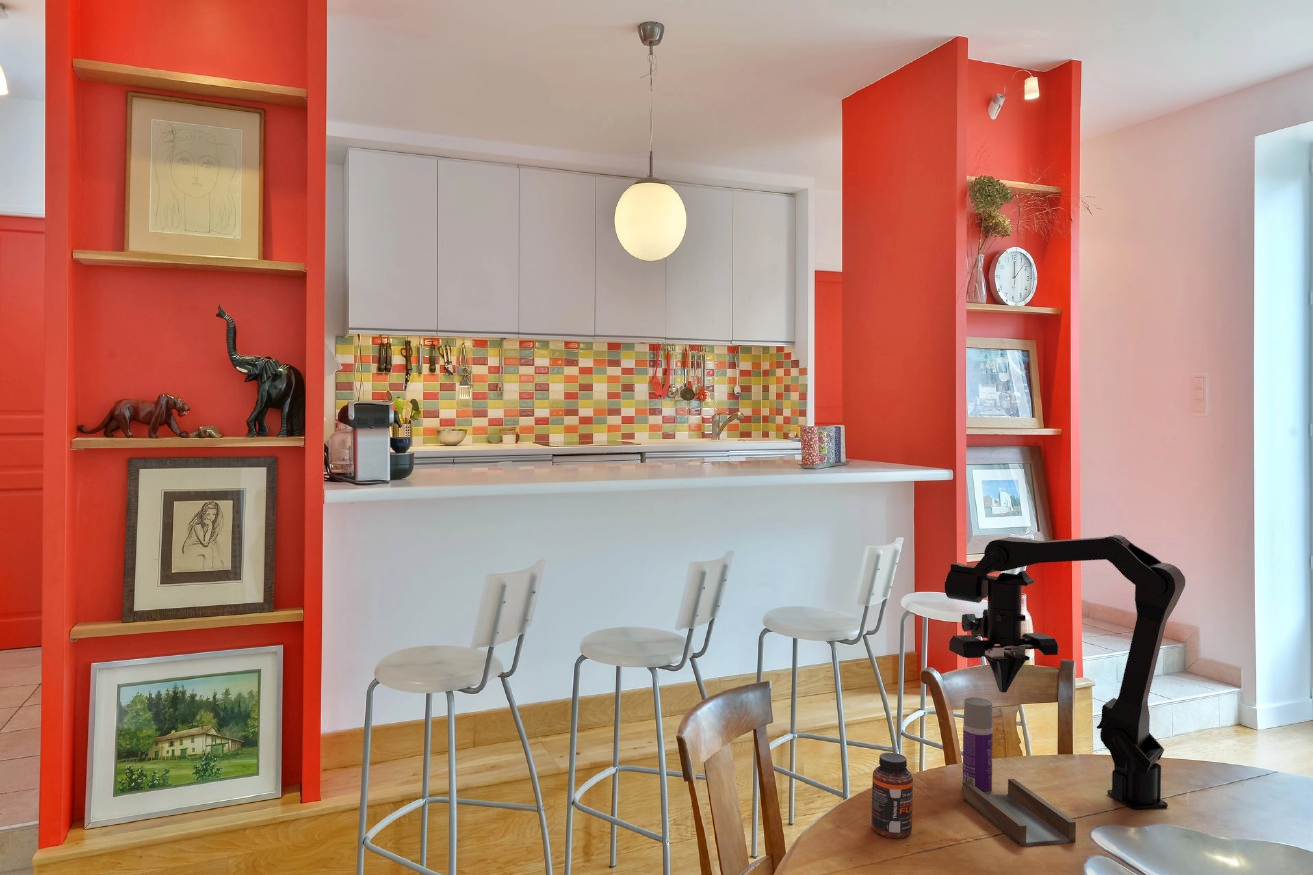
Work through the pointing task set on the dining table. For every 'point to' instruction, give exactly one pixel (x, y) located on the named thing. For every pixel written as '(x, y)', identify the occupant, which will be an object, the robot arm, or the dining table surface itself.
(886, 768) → the supplement bottle
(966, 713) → the container
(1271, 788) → the dining table surface
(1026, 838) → the cradle
